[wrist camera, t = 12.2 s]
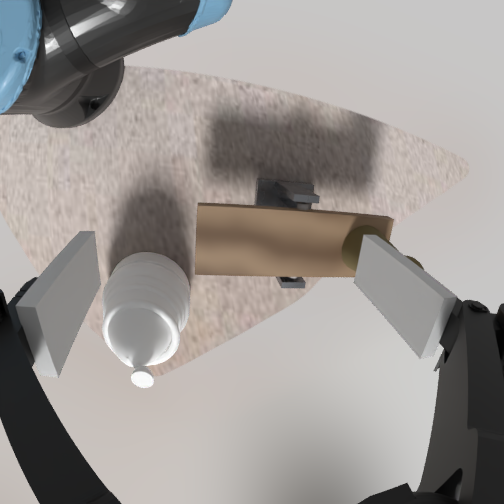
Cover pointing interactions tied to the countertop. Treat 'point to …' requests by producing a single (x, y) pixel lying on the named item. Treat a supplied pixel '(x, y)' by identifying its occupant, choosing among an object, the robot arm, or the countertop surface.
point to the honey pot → (145, 311)
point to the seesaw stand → (285, 196)
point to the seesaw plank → (276, 240)
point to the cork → (354, 243)
